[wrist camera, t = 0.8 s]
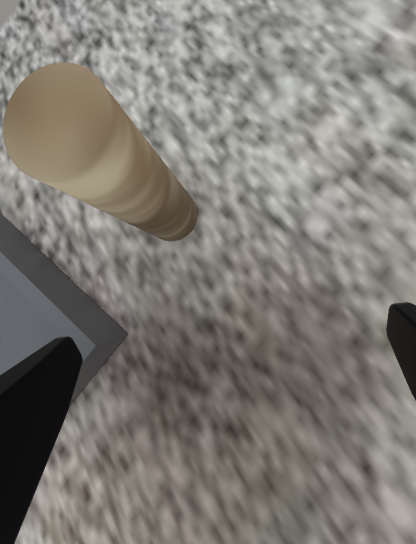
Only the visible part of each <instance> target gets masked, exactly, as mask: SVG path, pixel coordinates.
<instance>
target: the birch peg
mask: <svg viewBox="0 0 416 544" xmlns="http://www.w3.org/2000/svg"><path fill="white" fill-rule="evenodd" d="M3 137H4V143H5V147H6V149H7V152H8V154H9V156H10V158H11V160H12V161H13V163H14V164H15V165H16V166H17V167H18V168H19V169H20V170H21V171H22V172H24V173H25V174H27V175H28V176H30V177H32V178H34V179H37V180H39V181H41V182H43V183H45V184H47V185H49V186H51V187H53V188H55V189H58V190H60V191H62V192H64V193H66V194H68V195H70V196H72V197H74V198H76V199H79V200H81V201H83V202H85V203H87V204H89V205H91V206H93V207H95V208H97V209H100V210H102V211H104V212H106V213H108V214H110V215H112V216H114V217H116V218H119V219H121V220H123V221H125V222H127V223H129V224H131V225H133V226H135V227H137V228H140V229H142V230H144V231H146V232H148V233H150V234H152V235H154V236H156V237H158V238H161V239H163V240H167V241H176V240H179V239H182V238H184V237H185V236H187V235H188V234H189V233H190V232H191V231H192V229H193V228H194V226H195V224H196V220H197V208H196V204H195V202H194V201H193V199H192V198H191V196H190V195H189V194H188V193H187V191H186V190H185V189H184V187H183V186H182V185H181V184H180V182H179V181H178V180H177V178H176V177H175V176H174V175H173V173H172V172H171V171H170V170H169V168H168V167H167V166H166V164H165V163H164V162H163V161H162V159H161V158H160V157H159V155H158V154H157V153H156V152H155V150H154V149H153V148H152V146H151V145H150V144H149V143H148V141H147V140H146V139H145V137H144V136H143V135H142V134H141V132H140V131H139V130H138V128H137V127H136V126H135V125H134V123H133V122H132V121H131V119H130V118H129V117H128V116H127V114H126V113H125V112H124V110H123V109H122V108H121V107H120V105H119V104H118V103H117V101H116V100H115V99H114V98H113V96H112V95H111V94H110V92H109V91H108V90H107V89H106V87H105V86H104V85H103V83H102V82H101V81H100V80H99V79H98V77H97V76H96V75H95V74H94V73H92V72H91V71H90V70H88V69H87V68H85V67H83V66H80V65H77V64H74V63H54V64H50V65H47V66H44V67H42V68H40V69H38V70H36V71H35V72H33V73H32V74H30V75H29V76H28V77H26V78H25V79H24V80H23V81H22V82H21V84H20V85H19V86H18V87H17V89H16V90H15V92H14V93H13V95H12V97H11V99H10V101H9V103H8V105H7V108H6V111H5V115H4V122H3Z"/></svg>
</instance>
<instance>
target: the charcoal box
mask: <svg viewBox="0 0 416 544" xmlns="http://www.w3.org/2000/svg"><path fill="white" fill-rule="evenodd" d="M127 335H128V333H127V332H126V331H125V330H124V329H123V328H122V327H120V326H119V325H118V324H117V323H116V322H115V321H114V320H113V319H112V318H111V317H110V316H109V315H108V314H107V313H106V312H105V311H103V310H102V309H101V308H100V307H99V306H98V305H97V304H96V303H95V302H94V301H93V300H92V299H91V298H90V297H89V296H88V295H87V294H85V293H84V292H83V291H82V290H81V289H80V288H79V287H78V286H77V285H76V284H75V283H74V282H73V281H72V280H71V279H70V278H68V277H67V276H66V275H65V274H64V273H63V272H62V271H61V270H60V269H59V268H58V267H57V266H56V265H55V264H54V263H53V262H52V261H50V260H49V259H48V258H47V257H46V256H45V255H44V254H43V253H42V252H41V251H40V250H39V249H38V248H37V247H36V246H35V245H34V244H32V243H31V242H30V241H29V240H28V239H27V238H26V237H25V236H24V235H23V234H22V233H21V232H20V231H19V230H18V229H17V228H15V227H14V226H13V225H12V224H11V223H10V222H9V221H8V220H7V219H6V218H5V217H4V216H3V215H2V214H1V213H0V375H1V374H3V373H4V372H6V371H7V370H9V369H10V368H12V367H13V366H15V365H16V364H18V363H19V362H21V361H22V360H24V359H25V358H27V357H28V356H30V355H31V354H33V353H34V352H36V351H37V350H39V349H40V348H42V347H43V346H45V345H46V344H48V343H49V342H51V341H52V340H54V339H55V338H58V337H67V336H68V337H71V338H72V339H73V340H74V342H75V344H76V345H77V347H78V349H79V351H80V353H81V354H82V358H83V362H82V366H81V369H80V373H79V376H78V379H77V383H76V386H75V389H74V393H73V396H72V399H71V403H70V405H71V404H72V403H73V402H74V400H75V399H76V398H77V397H78V395H79V394H80V393H81V392H82V390H83V389H84V388H85V387H86V385H87V384H88V383H89V382H90V381H91V379H92V378H93V377H94V376H95V374H96V373H97V372H98V371H99V369H100V368H101V367H102V366H103V364H104V363H105V362H106V361H107V359H108V358H109V357H110V356H111V355H112V353H113V352H114V351H115V350H116V348H117V347H118V346H119V345H120V343H121V342H122V341H123V340H124V338H125V337H126V336H127Z"/></svg>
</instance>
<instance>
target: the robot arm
mask: <svg viewBox="0 0 416 544" xmlns="http://www.w3.org/2000/svg"><path fill="white" fill-rule="evenodd" d="M386 331H387V336H388V339H389V341H390V344H391V346H392V349H393V351H394V353H395V356H396V358H397V360H398V363H399V365H400V367H401V370H402V372H403V374H404V377H405V379H406V382H407V384H408V386H409V388H410V390H411V393H412V395H413V396H414V398H415V400H416V305H414V304H412V303H408V302H406V303H396V304H392V305H391V306H390V308H389V313H388V320H387V328H386ZM82 362H83V358H82V354H81V353H80V351H79V349H78V347H77V345H76V344H75V342H74V340H73V339H72V338H71V337H68V336H67V337H58V338H55V339H54V340H52V341H51V342H49V343H48V344H46V345H45V346H43V347H42V348H40V349H39V350H37V351H36V352H34V353H33V354H31V355H30V356H28V357H27V358H25V359H24V360H22V361H21V362H19V363H18V364H16V365H15V366H13V367H12V368H10V369H9V370H7V371H6V372H4V373H3V374H1V375H0V544H14V543H15V540H16V538H17V536H18V533H19V531H20V528H21V526H22V523H23V521H24V518H25V516H26V513H27V511H28V508H29V506H30V503H31V501H32V499H33V496H34V494H35V491H36V489H37V486H38V484H39V481H40V479H41V476H42V474H43V471H44V469H45V466H46V464H47V462H48V459H49V457H50V454H51V452H52V449H53V447H54V444H55V442H56V439H57V437H58V434H59V432H60V429H61V427H62V425H63V422H64V420H65V417H66V414H67V412H68V409H69V406H70V403H71V399H72V396H73V393H74V389H75V386H76V383H77V379H78V376H79V373H80V369H81V366H82Z"/></svg>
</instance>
